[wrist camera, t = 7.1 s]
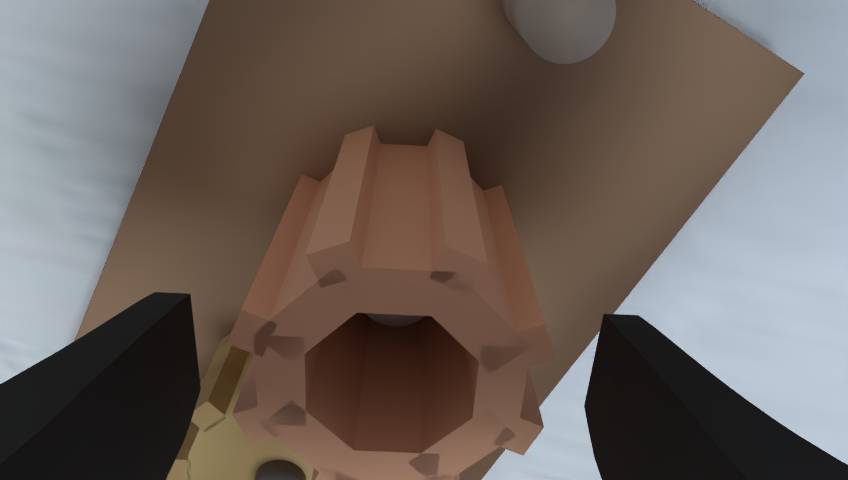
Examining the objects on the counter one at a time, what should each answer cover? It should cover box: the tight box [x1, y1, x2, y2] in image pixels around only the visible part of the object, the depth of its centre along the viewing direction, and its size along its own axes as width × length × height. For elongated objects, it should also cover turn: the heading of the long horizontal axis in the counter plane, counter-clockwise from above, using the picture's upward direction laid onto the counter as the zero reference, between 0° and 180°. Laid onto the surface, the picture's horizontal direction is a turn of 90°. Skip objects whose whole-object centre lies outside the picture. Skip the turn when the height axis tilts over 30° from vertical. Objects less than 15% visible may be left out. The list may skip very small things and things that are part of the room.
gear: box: [226, 125, 556, 480], centre depth 14 cm, size 5×5×6 cm
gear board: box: [75, 0, 804, 480], centre depth 16 cm, size 12×20×5 cm, turn 151°
